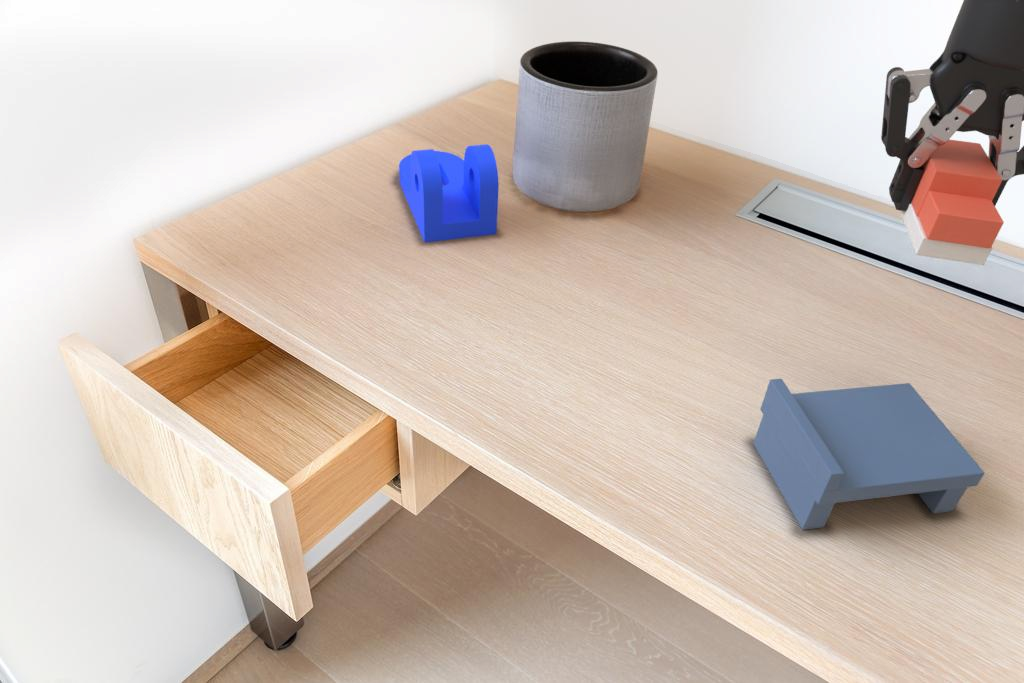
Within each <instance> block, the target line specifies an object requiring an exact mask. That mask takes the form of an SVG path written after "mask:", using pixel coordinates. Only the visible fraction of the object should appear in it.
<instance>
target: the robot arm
mask: <svg viewBox="0 0 1024 683" xmlns="http://www.w3.org/2000/svg"><path fill="white" fill-rule="evenodd" d="M927 87H929V89H930V92H931V95H932V97H933V100H934V103H933V104H932V105H931V107H930V108H929V109H928V110H927V111H926V113H925V114H924V115H923V116H922V118H921V119H920V121H919V124H918V126H917V128H916V129H915V130H914V131H913V132H912V134H910V135H909V137H907V136H906V133H907V124H908V117H909V116H908V114H909V106H910V104H912V103H914V102H916V101H917V100H918V99H919V97H920V94H921V92H922V91H923V90H924V89H925V88H927ZM1023 122H1024V0H963V1H962V4H961V6H960V9H959V12H958V13H957V16H956V18H955V21H954V23H953V26H952V29H951V31H950V34H949V36H948V39H947V42H946V45H945V47H944V49H943V51H942V53H941V55H940V56H939V57H937V59H936V60H935V61H933V63H932V64H931V65H930V67H929V68H924V69H914V70H907V71H906V70H904V68H902V67H900V66H895V67H893V68H891V69H889V70H888V71H887V73H886V80H885V90H884V101H883V114H882V125H881V135H880V136H881V137H880V139H881V143H882V144H883V145H884V149H885V152H886V154H887V155H888V157H891V158H897V159H899V162H898V165H897V167H896V170H895V172H894V174H893V177H892V180H891V182H890V184H889V187H888V191H889V192H888V193H889V197H890V200H891V202H892V203H893V205H894V208H895V210H896V211H900V210H901V211H906V210H907V209H908V207H909V204H910V203H911V201H912V199H913V196H914V194H915V191H916V189H917V187H918V184H919V182H920V180H921V177H922V175H923V173H924V168H923V166H922V165H923V164H924V163H925V162H926V161H927V160H928V158H929V157H930V156H931V155H932V154H933V153H934V151H935V150H936V149H937V148H938V147H939V146H941V145H944V144H945V143H946V142H947V141H948V140H949V139H950V140H951V138H952V137H953V135H955V133H956V132H960V133H968V132H978V133H980V134H983V135H985V136H987V137H988V140H989V141H988V142H989V143H988V155H987V156H988V157H989V159H990V161H991V162H992V164H993V166H994V167H995V169H996V170H997V172H998V174H999V175H1000V177H1001V179H1002V182H1001V184H1000V186H999V188H998V190H997V192H996V194H995V196H994V198H993V200H992V202H993V204H994V206H995V207H996V206H997V204H998V202H999V199H1000V198H1001V195H1002V193H1003V192H1004V189H1005V188H1006V185H1007V183H1008V182H1009V181H1010V179H1012V178H1014V177H1016V176H1023V175H1024V145H1023V146H1022V147H1021V136H1022V127H1023V126H1022V125H1023ZM1020 147H1021V148H1020Z"/></svg>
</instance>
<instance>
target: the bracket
mask: <svg viewBox="0 0 1024 683" xmlns="http://www.w3.org/2000/svg"><path fill="white" fill-rule="evenodd" d="M398 175H399V176H398V177H399V185H400V187H401V190H402V193H403V195H404V196H405V199H406V202H407V204H408V206H409V209H410V211H411V213H412V216H413V219H414V221H415V223H416V225H417V228H418V230H419V233H420V235H421V237H422V240H423V243H433V242H441V241H449V240H458V239H468V238H474V237H475V238H476V237H484V236H492V235H497V230H498V208H499V187H500V186H499V171H498V165H497V161H496V157H495V154H494V150H493V149H492V146H490V145H489V144H477V145H476V144H475V145H468V146H466V148H465V150H464V157H463V158H461V157H460V156H458V155H456V154H453V153H452V152H451V153H450V152H446V151H443V150H441V151H440V150H434V149H433V148H429V149H417V150H412V151H411V153H410V154H408V155H406V156H404V157H403V158H402V159H401V160H400V162H399V163H398Z"/></svg>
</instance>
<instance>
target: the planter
mask: <svg viewBox="0 0 1024 683" xmlns="http://www.w3.org/2000/svg"><path fill="white" fill-rule="evenodd" d="M518 71H519V72H518V88H517V99H516V116H515V127H514V140H513V151H512V152H513V153H512V165H511V166H512V167H511V168H512V169H511V170H512V181H513V182H514V184H515V186H516V187H517V189H519V191H521V192H522V193H523V194H524V195H525V196H526V197H527V198H528V199H530V200H532V201H533V202H536V203H537V204H539V205H542V206H544V207H546V208H549V209H554V210H557V211H561V212H568V213H574V214H575V213H576V214H577V213H578V214H590V213H591V214H592V213H599V212H605V211H610V210H613V209H615V208H618V207H620V206H622V205H624V204H626V203H628V202H629V201H631V200H632V199H633V198H634V197H636V195H637V194H638V191H639V189H640V185H641V181H642V177H643V176H642V175H643V170H644V164H645V155H646V150H647V144H648V138H649V137H648V136H649V130H650V124H651V117H652V112H653V105H654V99H655V92H656V86H657V80H658V74H659V72H658V68H657V67H656V65H655V63H653V61H651V60H650V59H649V58H647V57H645V56H644V55H642V54H639V53H638V52H636V51H633V50H630V49H628V48H625V47H620V46H617V45H612V44H607V43H602V42H593V41H580V40H579V41H557V42H549V43H545V44H541V45H537V46H534V47H533V48H531V49H528V50H527V51H526V52H524V53H523V54H522V55H521V57H520V59H519V69H518Z"/></svg>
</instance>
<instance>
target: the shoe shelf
mask: <svg viewBox="0 0 1024 683" xmlns="http://www.w3.org/2000/svg"><path fill="white" fill-rule="evenodd" d="M760 412H761V413H762V417H761V421H760V423H759V426H758V429H757V430H756V434H755V438H754V440H753V446H754V448H755V450H756V451H757V453H758V455H759V456H760V459H761V460H762V462H763V464H764V465H765V467H766V469H767V471H768V472H769V474H770V475H771V478H772V479H773V481H774V483H775V485H776V487H777V488H778V490H779V491H780V493H781V495H782V497H783V498H784V500H785V503H786V504H787V506H788V508H789V509H790V511H791V513H792V515H793V516H794V518H795V520H796V522H797V523H798V525H799V527H800V528H801V530H802V531H804V530H806V531H807V530H812V529H822V528H824V527H825V525H826V523H827V521H828V519H829V517H830V515H831V513H832V510H833V508H834V507H835V504H837V503H845V502H854V501H862V500H870V499H878V498H880V499H881V498H888V497H896V496H904V495H913V494H917V495H918V496H919V497H920V499H921V500H922V501H923V503H924V504H925V505H926V507H927V508H928V510H929V511H930V512H931V513H932V514H941V513H949V512H953V511H954V510H955V508H956V506H957V505H958V504H959V502H960V501H961V499H962V497H963V496H964V494H965V493H966V491H967V489H968V488H972V487H977V486H978V485H979V483H980V482H981V480H982V478H983V477H984V476H985V474H986V473H985V471H984V470H983V469H982V467H980V465H979V464H978V463H977V461H976V460H975V459H974V458H973V456H971V455H970V453H969V452H968V451H967V449H965V447H964V446H963V445H962V444H961V442H959V440H958V439H957V438H956V437H955V436H954V434H953V433H952V432H951V431H950V430H949V429H948V427H947V426H946V425H945V424H944V422H943V421H942V420H941V419H940V418H939V417H938V416H937V414H936V413H935V411H933V409H932V408H931V407H930V406H929V405H928V403H927V402H926V401H925V400H924V399H923V397H922V396H921V395H920V394H919V392H917V390H916V389H915V388H914V387H913V386H912V384H911V383H909V382H906V383H905V382H904V383H896V384H883V385H874V386H873V385H872V386H863V387H861V386H860V387H851V388H850V387H849V388H841V389H831V390H829V389H828V390H819V391H809V392H798V393H792V392H791V391H790V389H789V388H788V386H787V385H786V383H785V381H784V380H783V378H772V379H769V382H768V385H767V388H766V391H765V394H764V397H763V400H762V403H761V405H760Z"/></svg>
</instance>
